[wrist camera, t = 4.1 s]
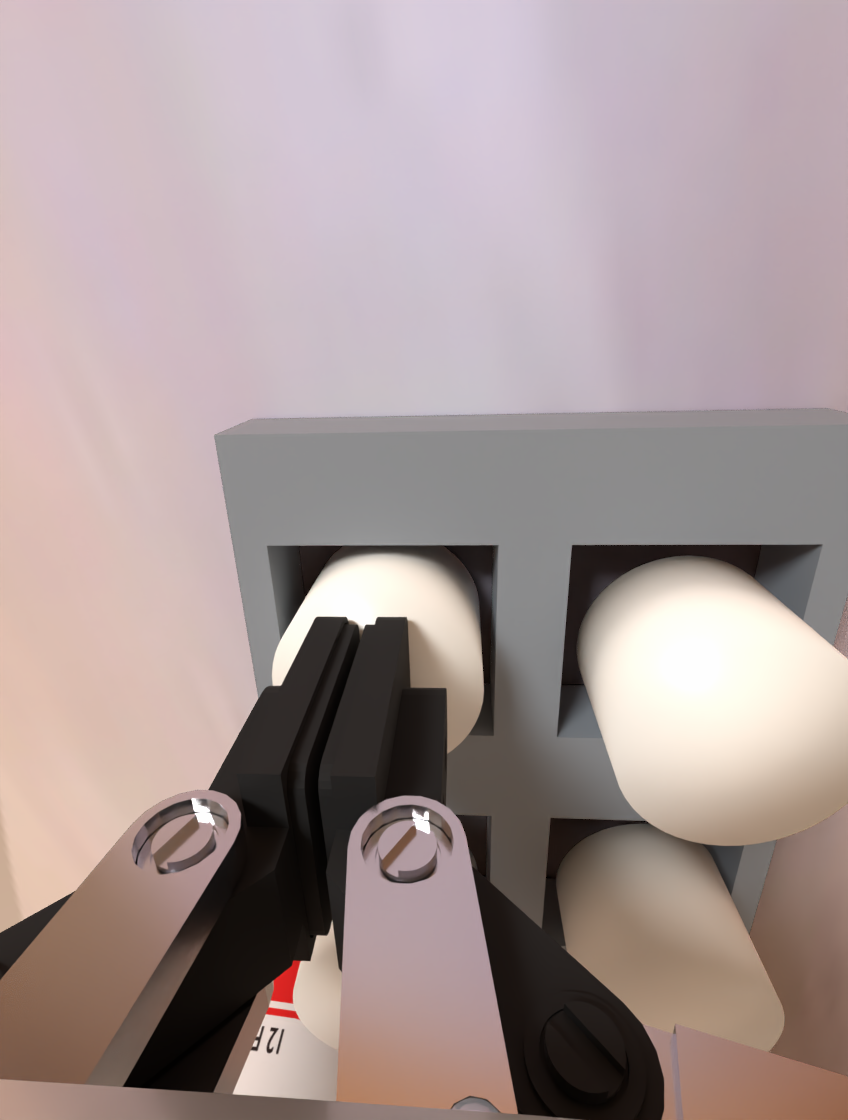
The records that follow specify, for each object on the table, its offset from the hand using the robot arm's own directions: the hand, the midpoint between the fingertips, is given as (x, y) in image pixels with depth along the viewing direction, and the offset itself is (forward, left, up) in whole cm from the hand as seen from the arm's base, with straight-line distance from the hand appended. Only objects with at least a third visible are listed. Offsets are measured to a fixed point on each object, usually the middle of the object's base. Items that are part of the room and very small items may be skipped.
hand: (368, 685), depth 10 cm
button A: (-6, +7, -2) cm, 10 cm away
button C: (-6, 0, -2) cm, 6 cm away
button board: (-3, +5, -4) cm, 7 cm away
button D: (0, 0, -3) cm, 3 cm away
